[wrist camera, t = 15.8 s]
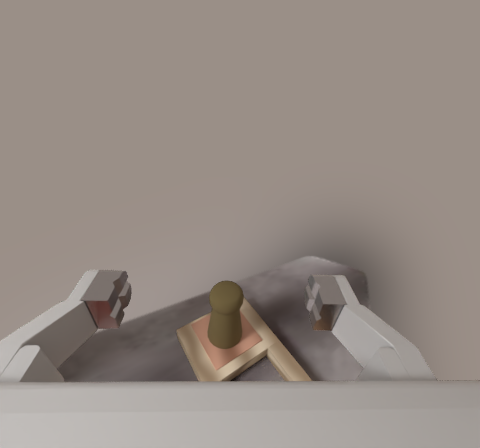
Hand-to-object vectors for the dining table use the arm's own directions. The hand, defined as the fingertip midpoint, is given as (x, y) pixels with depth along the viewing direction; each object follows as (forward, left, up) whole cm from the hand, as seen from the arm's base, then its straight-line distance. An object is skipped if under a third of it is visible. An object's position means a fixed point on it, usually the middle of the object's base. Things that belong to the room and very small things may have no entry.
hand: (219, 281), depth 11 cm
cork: (+9, +13, -31) cm, 35 cm away
